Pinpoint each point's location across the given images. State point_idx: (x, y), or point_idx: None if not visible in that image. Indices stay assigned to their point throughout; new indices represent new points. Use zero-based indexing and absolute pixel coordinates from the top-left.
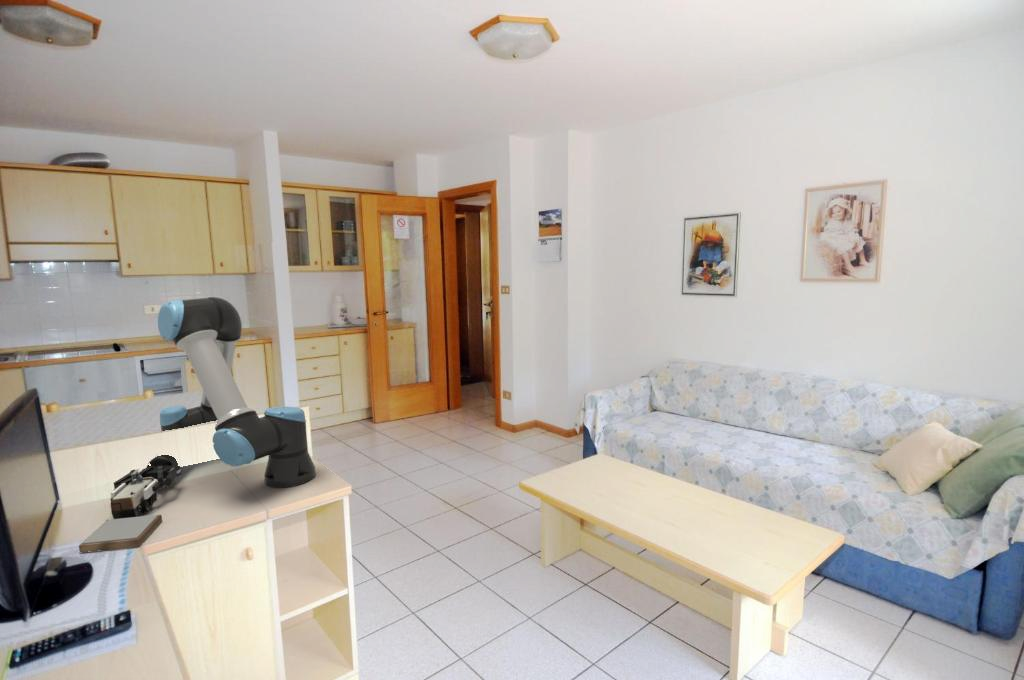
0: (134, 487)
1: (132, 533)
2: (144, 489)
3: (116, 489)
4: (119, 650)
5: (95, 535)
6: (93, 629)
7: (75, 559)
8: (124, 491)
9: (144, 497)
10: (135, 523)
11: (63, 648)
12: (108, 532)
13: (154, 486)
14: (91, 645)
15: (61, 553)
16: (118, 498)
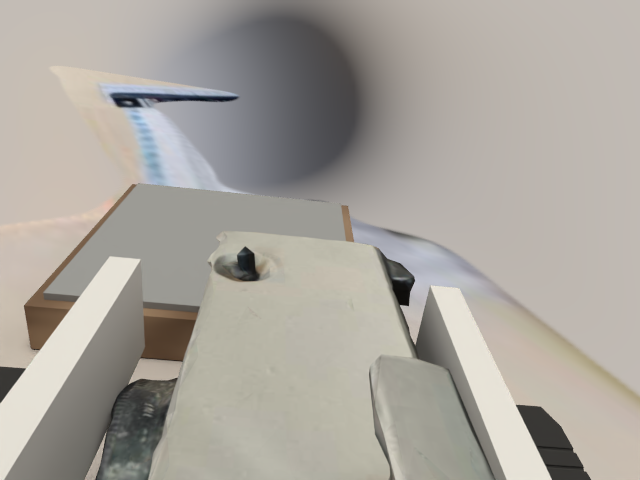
0: (288, 387)
1: (163, 203)
2: (130, 268)
3: (470, 342)
4: (120, 83)
5: (322, 225)
6: (169, 101)
7: None
8: (358, 327)
9: (141, 330)
10: (170, 252)
11: (199, 96)
12: (276, 229)
13: (16, 377)
14: (161, 92)
15: (416, 250)
16: (328, 240)
